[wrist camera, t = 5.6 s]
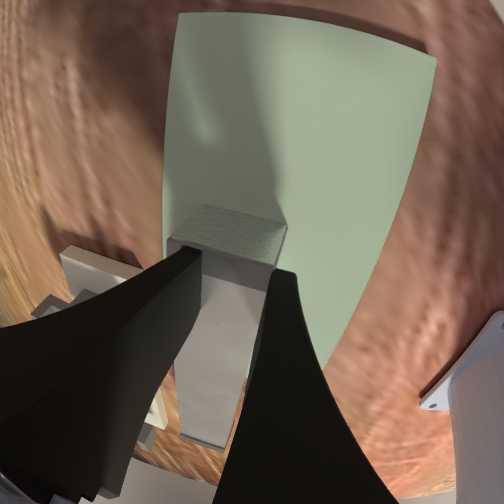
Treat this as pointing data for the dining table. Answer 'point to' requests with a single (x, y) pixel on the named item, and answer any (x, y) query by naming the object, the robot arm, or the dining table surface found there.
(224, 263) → the rail
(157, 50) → the dining table surface
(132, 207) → the dining table surface
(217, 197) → the mat
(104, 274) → the standards
